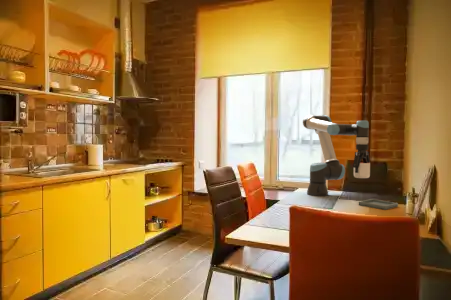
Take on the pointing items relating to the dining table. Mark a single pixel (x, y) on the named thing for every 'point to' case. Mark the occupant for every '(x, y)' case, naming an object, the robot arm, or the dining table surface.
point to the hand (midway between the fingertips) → (361, 177)
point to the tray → (378, 204)
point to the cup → (364, 170)
